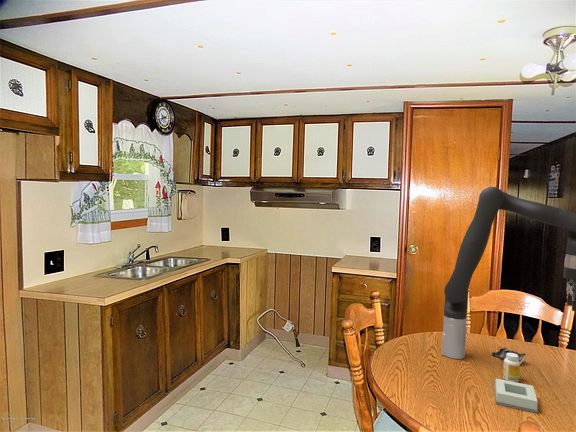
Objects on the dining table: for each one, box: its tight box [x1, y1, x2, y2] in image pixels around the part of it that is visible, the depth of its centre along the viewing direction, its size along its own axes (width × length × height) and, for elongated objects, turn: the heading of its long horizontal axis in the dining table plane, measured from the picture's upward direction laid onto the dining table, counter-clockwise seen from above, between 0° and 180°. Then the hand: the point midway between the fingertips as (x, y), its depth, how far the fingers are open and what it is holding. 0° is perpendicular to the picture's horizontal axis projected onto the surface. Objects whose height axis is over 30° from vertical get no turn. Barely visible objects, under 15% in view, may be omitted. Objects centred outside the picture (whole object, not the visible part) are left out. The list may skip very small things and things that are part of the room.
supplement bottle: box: [502, 353, 521, 383], centre depth 149 cm, size 5×5×10 cm
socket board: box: [493, 378, 539, 414], centre depth 136 cm, size 12×17×4 cm
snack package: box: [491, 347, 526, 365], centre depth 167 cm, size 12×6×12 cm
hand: (572, 308), depth 150 cm, fingers open, 8 cm apart
